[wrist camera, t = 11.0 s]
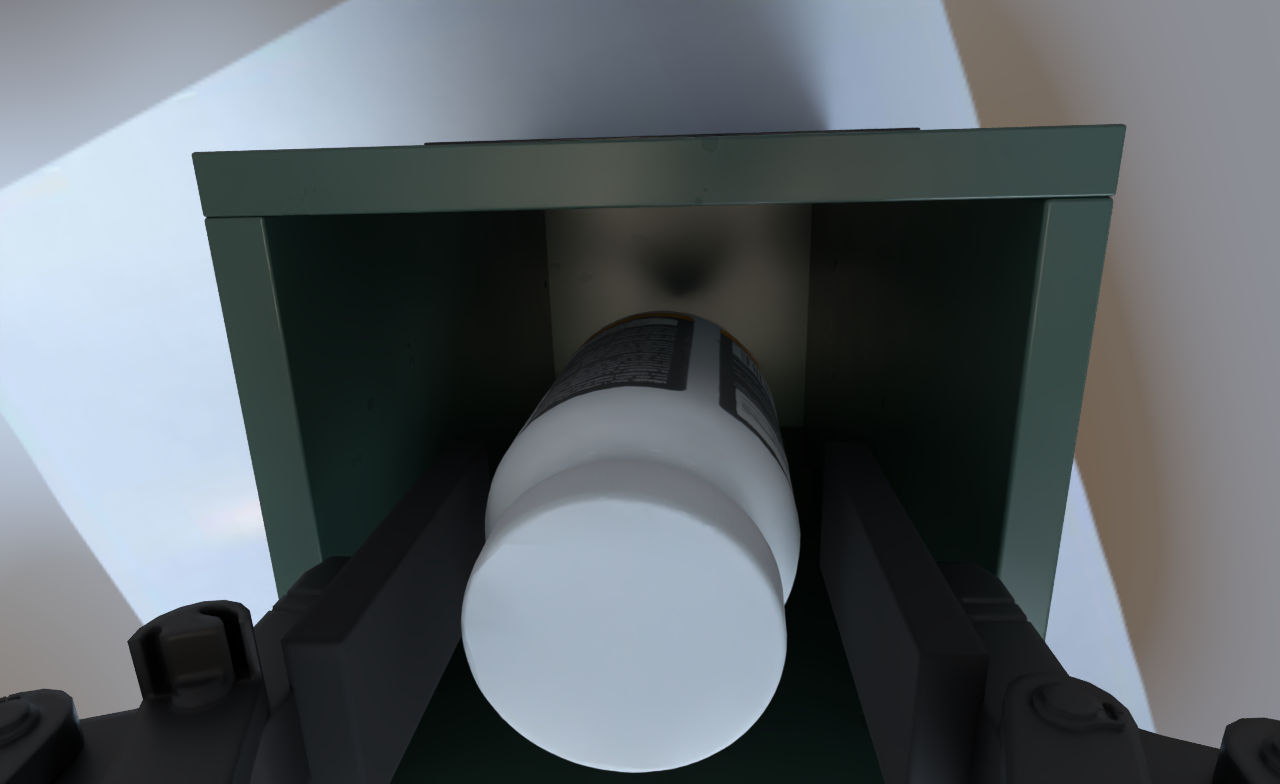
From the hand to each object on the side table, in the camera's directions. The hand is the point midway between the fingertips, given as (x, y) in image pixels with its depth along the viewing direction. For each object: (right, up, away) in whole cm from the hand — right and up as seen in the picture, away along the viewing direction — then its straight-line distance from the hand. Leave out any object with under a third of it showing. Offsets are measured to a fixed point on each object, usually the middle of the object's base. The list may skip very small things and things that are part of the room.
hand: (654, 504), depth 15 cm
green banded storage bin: (+2, +7, +21) cm, 22 cm away
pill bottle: (0, +2, +5) cm, 5 cm away
